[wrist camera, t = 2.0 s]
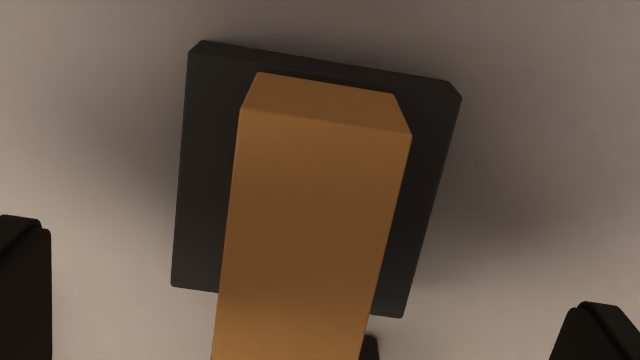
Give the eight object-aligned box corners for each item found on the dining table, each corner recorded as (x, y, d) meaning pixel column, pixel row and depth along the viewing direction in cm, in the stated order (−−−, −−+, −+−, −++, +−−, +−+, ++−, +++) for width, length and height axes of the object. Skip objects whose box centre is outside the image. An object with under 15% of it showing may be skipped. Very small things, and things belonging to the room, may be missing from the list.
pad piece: (200, 39, 14) (150, 81, 10) (450, 81, 15) (501, 138, 11) (181, 258, 17) (135, 365, 13) (396, 289, 17) (420, 402, 13)
